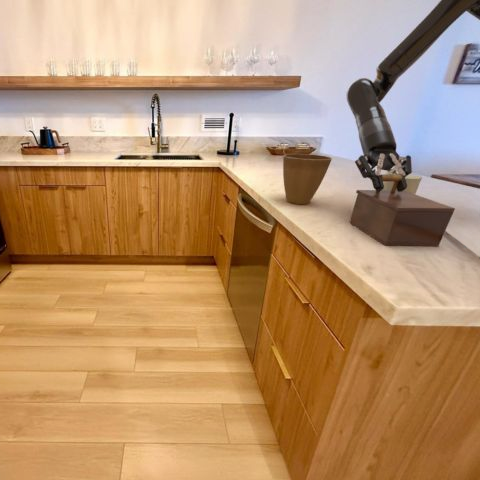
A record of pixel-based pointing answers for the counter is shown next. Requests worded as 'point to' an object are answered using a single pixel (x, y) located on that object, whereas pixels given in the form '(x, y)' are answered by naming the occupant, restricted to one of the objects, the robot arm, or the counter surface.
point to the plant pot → (303, 176)
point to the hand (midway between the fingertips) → (391, 189)
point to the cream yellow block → (411, 182)
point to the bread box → (399, 224)
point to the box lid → (403, 198)
